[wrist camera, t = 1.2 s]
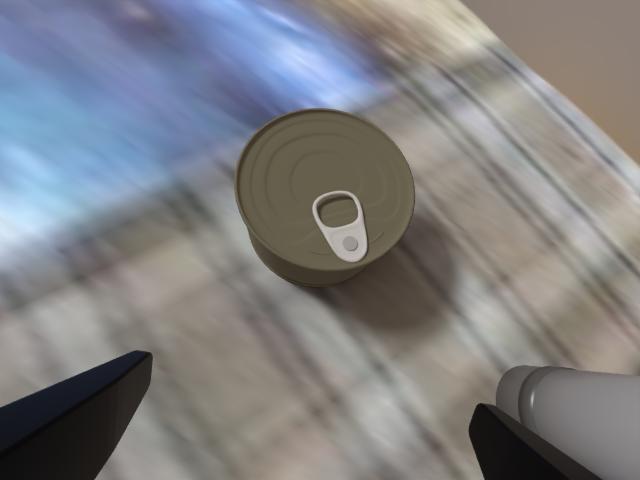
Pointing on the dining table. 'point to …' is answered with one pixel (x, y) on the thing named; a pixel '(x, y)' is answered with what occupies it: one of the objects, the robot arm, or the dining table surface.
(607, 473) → the lens
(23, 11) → the dining table surface
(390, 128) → the dining table surface
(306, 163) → the can
